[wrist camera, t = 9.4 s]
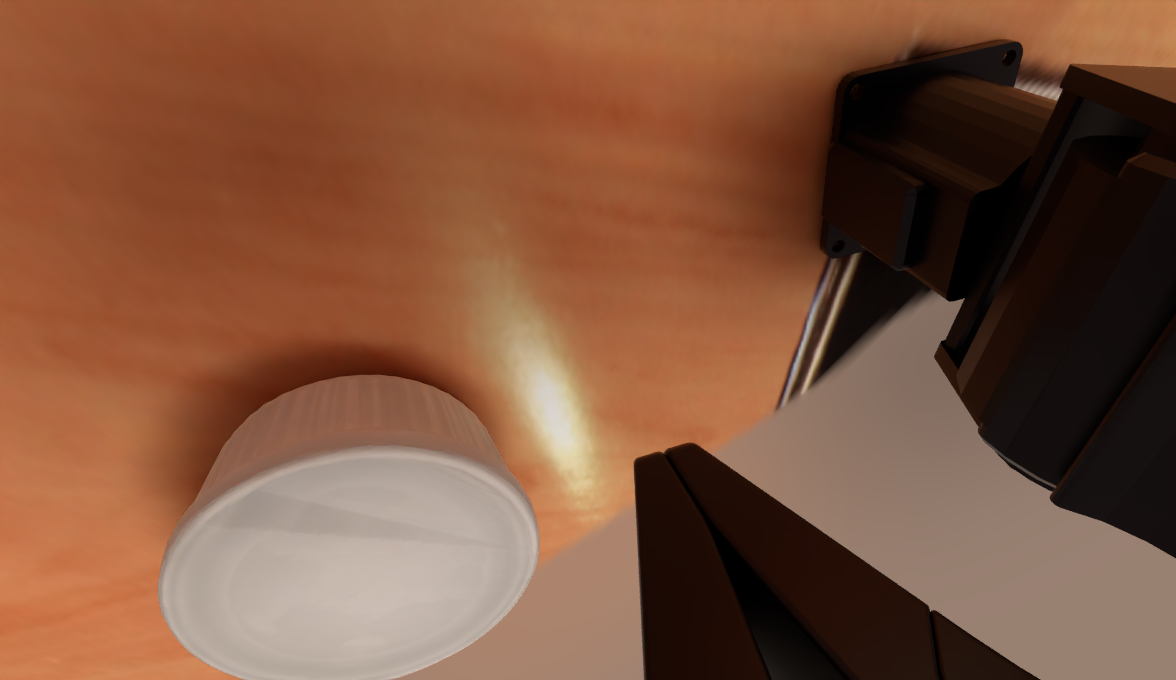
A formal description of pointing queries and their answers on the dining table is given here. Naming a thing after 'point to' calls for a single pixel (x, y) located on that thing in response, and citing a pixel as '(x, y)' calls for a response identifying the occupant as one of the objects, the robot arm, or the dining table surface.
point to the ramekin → (349, 537)
